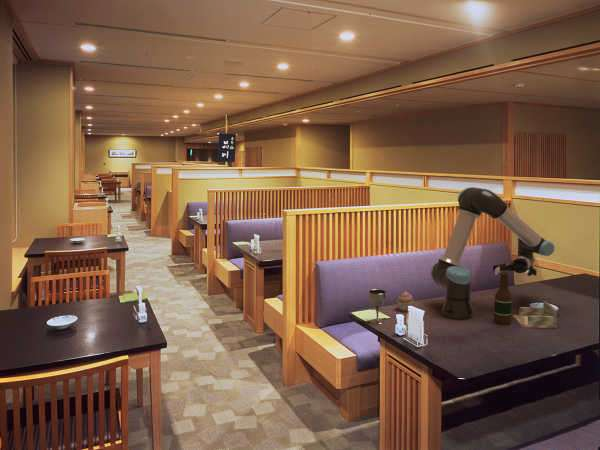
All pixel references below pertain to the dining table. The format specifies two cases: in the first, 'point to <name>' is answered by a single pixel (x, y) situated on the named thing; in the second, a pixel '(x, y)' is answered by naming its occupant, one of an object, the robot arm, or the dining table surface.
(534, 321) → the wooden display stand
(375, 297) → the wine glass
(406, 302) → the cupcake
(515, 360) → the dining table surface
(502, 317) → the beer bottle
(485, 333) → the dining table surface
